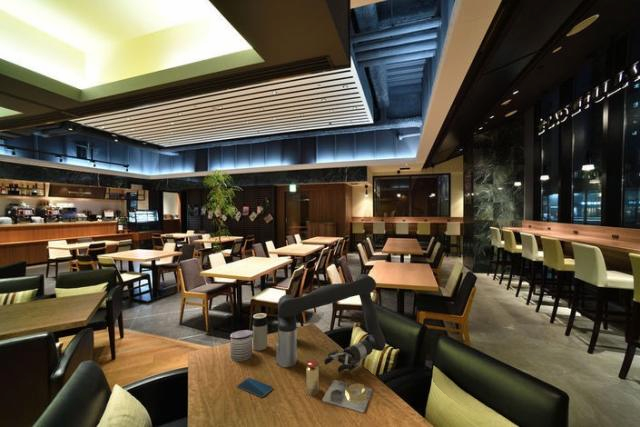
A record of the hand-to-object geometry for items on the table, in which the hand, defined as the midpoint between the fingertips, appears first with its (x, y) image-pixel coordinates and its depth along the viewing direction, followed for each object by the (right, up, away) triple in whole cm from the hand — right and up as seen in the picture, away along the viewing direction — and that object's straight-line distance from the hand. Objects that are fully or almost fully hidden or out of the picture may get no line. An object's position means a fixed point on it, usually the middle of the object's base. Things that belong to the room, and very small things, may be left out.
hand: (331, 365), depth 123 cm
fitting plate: (+6, -7, -10) cm, 14 cm away
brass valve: (-8, -7, -8) cm, 13 cm away
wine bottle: (-24, -7, +40) cm, 47 cm away
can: (-47, -7, +22) cm, 52 cm away
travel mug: (-39, -7, +31) cm, 50 cm away
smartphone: (-33, -7, -5) cm, 34 cm away
